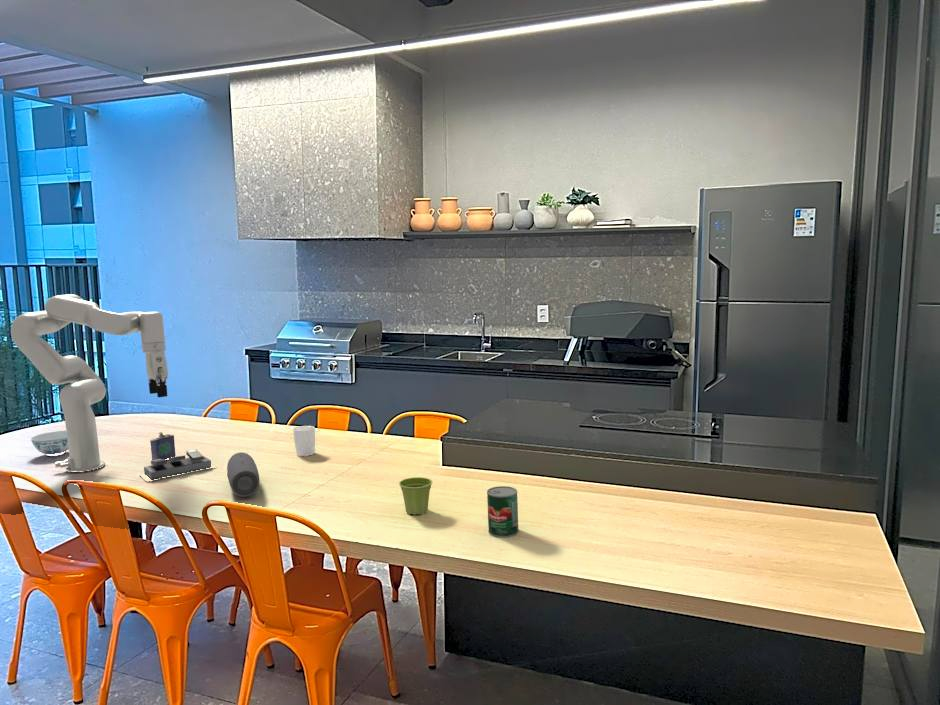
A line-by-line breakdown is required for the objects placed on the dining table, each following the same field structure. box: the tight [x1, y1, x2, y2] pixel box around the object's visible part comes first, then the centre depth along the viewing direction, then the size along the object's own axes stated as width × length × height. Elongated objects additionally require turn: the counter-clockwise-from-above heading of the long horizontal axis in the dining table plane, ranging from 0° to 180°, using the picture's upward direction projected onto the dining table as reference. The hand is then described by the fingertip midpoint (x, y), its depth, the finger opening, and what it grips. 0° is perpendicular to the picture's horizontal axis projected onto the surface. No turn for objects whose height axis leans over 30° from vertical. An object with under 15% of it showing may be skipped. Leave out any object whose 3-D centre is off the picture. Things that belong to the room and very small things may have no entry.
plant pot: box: [398, 476, 433, 516], centre depth 202 cm, size 9×9×9 cm
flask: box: [149, 431, 176, 461], centre depth 264 cm, size 9×3×11 cm, turn 146°
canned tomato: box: [486, 485, 520, 538], centre depth 185 cm, size 8×8×11 cm
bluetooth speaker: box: [226, 451, 260, 498], centre depth 227 cm, size 23×9×10 cm, turn 21°
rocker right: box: [185, 449, 204, 461], centre depth 253 cm, size 4×7×1 cm, turn 39°
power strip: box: [143, 455, 212, 480], centre depth 249 cm, size 23×10×3 cm, turn 129°
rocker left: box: [150, 459, 169, 466], centre depth 245 cm, size 4×7×1 cm, turn 39°
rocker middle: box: [168, 454, 186, 462], centre depth 249 cm, size 4×7×1 cm, turn 39°
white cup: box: [292, 425, 316, 457], centre depth 266 cm, size 8×8×10 cm
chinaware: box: [30, 430, 69, 455], centre depth 278 cm, size 15×15×8 cm
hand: (158, 394), depth 253 cm, fingers open, 9 cm apart
